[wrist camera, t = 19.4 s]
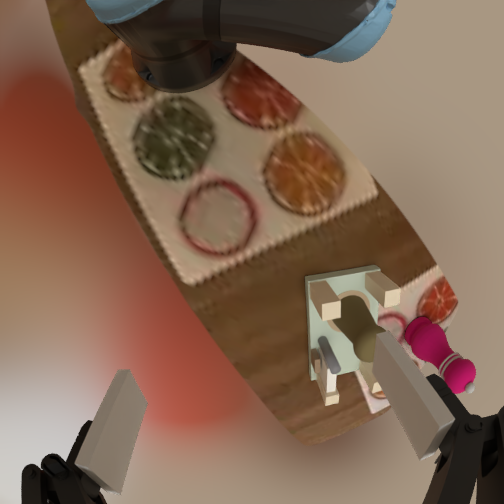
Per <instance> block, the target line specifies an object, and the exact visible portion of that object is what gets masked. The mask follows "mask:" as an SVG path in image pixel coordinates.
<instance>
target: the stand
mask: <svg viewBox="0 0 504 504" xmlns="http://www.w3.org/2000/svg"><path fill="white" fill-rule="evenodd" d="M305 288H306V305H307V324H308V348H309V374H310V378H311V380H316V373H319V372H320V357H319V354H318V347H319V346H320V348H321V350H322V353H323V355H324V358H325V360H326V362H327V365H328V367H329V369H330V372H331V373H332V374H336V375H339V374H344V373H348V372H352V371H356V370H360V372H361V374H362V375H363V377H364V379H365V381H366V383H367V385H368V387H369V388H370V390H371V392H372V393H374V392H378V391H381V390H382V389H381V387H380V385H379V383H378V382H377V380H376V378H375V376H374V374H373V373H372V369H373V362H371V363H368V362H363V361H361V360H359V359H358V358H357V356H356V355H355V353H354V350H353V344H352V342H351V341H350V340H349V339H348V338H347V337H346V336H345V335H344V334H343V333H342V332H341V331H340V329H339V328H338V327H337V326H336V325H335V324H334V322H333V321H332V319H336V318H341V299H342V298H344V297H346V296H349V295H356V296H359V297H361V298H362V299H363V300H364V302H365V304H366V305H367V307H368V309H369V311H370V313H371V315H372V317H373V318H374V320H375V322H376V324H377V319H378V306H379V303H380V304H381V305H382V306H383V307H384V308H386V307H390V306H395V305H399V301H400V291H401V288H400V287H399V286H397V285H396V284H395V283H394V282H393V281H391V280H390V279H389V278H388V277H386V276H385V275H384V274H383V273H381V272H380V268H379V267H377V266H376V265H370V266H365V267H359V268H353V269H347V270H341V271H335V272H329V273H323V274H317V275H310V276H305Z"/></svg>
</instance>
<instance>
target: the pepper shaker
mask: <svg viewBox="0 0 504 504" xmlns="http://www.w3.org/2000/svg"><path fill="white" fill-rule="evenodd" d="M332 321H333V322H334V324H335V325H336V326H337V327H338V328H339V329H340V331H341V332H342V333H343V334H344V335H345V336H346V337H347V338H348V339H349V340H350V341H351V342H352V344H353V350H354V353H355V355H356V356H357V358H358V359H359V360H361V361H363V362H368V363H371V362H374V353H375V344H376V334H379V333H382V332H386V330H385V329H383V328H382V327H380V326H377V324H376V322H375V320H374V318H373V317H372V315H371V313H370V311H369V309H368V307H367V305H366V304H365V302H364V300H363V299H362V298H361V297H359V296H356V295H349V296H346V297H344V298H342V299H341V318H336V319H332Z"/></svg>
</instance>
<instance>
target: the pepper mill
mask: <svg viewBox="0 0 504 504" xmlns="http://www.w3.org/2000/svg"><path fill="white" fill-rule="evenodd" d="M405 340H406V341H407V343H408V344H409V345H410V346H411V348H412V352H413V354H414V355H415V356H416V357H418V358H419V359H421V360H424V361H427V362H430V363H432V364H433V365H435V366H436V367H437V369H438V370H439V375H440V376H441V378H442V379H444V381H445V382H446V384H447V385H448V387H450V389H451V390H452V392H453V393H454V394H458V393H461V392H463V391H466V392H467V393H472V392H473V391H474V389H475V385H474V383H473V381H474V378H475V375H476V369H475V366H474V364H473V363H472V362H471V361H470V360H468V359H463V357H462V356H460V354H459V353H455V352H453V351H452V349H451V348H450V347H449V345H448V342H447V339H446V335H445V333H444V331H443V329H442V328H441V327H440V326H439V325H437V324H432V322H431V321H430V320H429V319H428V318H426V317H418V318H416V319H415V320H413V321H412V322H411V323H410V324H409V326H408V327H407V329H406V332H405Z"/></svg>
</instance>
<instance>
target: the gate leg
mask: <svg viewBox="0 0 504 504" xmlns="http://www.w3.org/2000/svg"><path fill="white" fill-rule="evenodd" d="M318 354H319V357H320V372H319V373H316V379H317V382H318V385H319V388H320V391H321V394H322V397H323V400H324V403H325V406H327V405H331V404H336V403H338V401H339V393H338V390H337V388H336V374H332V373H331V372H330V369H329V367H328V365H327V362H326V360H325V358H324V355H323V353H322V350H321V348H320V346H319V347H318Z"/></svg>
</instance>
